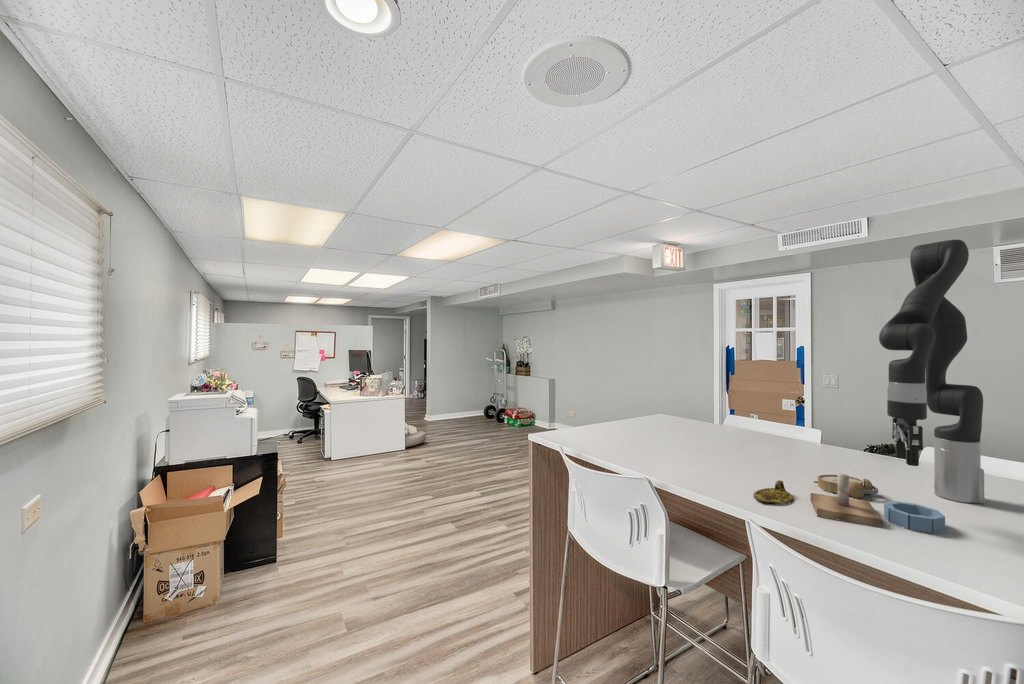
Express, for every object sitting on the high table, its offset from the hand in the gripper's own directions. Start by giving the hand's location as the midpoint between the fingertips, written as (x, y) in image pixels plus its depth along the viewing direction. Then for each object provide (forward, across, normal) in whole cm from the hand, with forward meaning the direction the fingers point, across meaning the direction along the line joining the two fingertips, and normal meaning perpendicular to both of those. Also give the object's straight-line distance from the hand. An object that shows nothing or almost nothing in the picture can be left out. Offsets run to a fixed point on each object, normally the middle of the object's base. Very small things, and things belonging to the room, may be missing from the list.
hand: (906, 461), depth 108 cm
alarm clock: (+15, +16, +10) cm, 24 cm away
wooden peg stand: (+15, -4, +14) cm, 21 cm away
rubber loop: (+15, -4, 0) cm, 15 cm away
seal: (+15, -1, +30) cm, 34 cm away
